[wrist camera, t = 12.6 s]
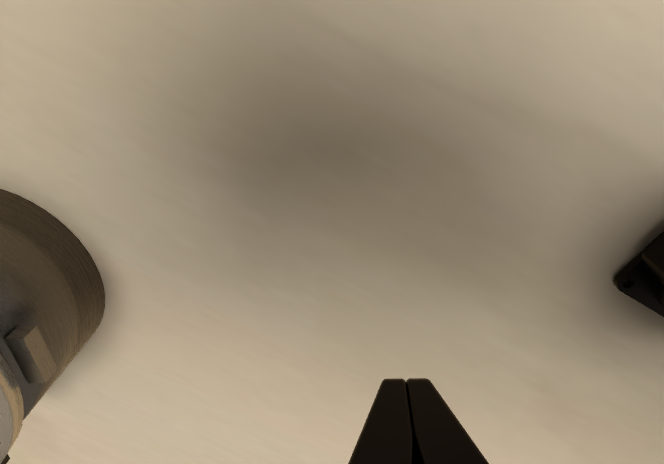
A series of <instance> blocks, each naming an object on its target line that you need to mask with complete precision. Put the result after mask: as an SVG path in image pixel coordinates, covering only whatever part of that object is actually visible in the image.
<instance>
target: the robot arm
mask: <svg viewBox="0 0 664 464" xmlns="http://www.w3.org/2000/svg"><path fill="white" fill-rule="evenodd" d="M629 279H630V280H629ZM626 280H629V281H628V282H627V283H624V282H625V281H626ZM613 282H614V285H615V286H616V287H617V288H618V289H619V290H620V291H621V292H623V293H625V294H626V295H628V296H630V297H631V298H633V299H635V300H636V301H638V302H640V303H641V304H643V305H645V306H646V307H648V308H650V309H652V310H653V311H655V312H657V313H658V314H660V315H662V316H663V317H664V232H663V233H662V234H660V235H659V236H658V237H657V238H656V239H655V240H654V241H653V242H652V243H651V244H650V245H648V246H647V247H646V248H645V249H644V250H643V251H642V252H641V253H640V254H639V255H637V256H636V257H635V258H634V259H633V260H632V261H631V262H630V263H629V264H628V265H627V266H625V267H624V268H623V269H622V270H621V271H620V272H619V273H618V274H617V275H616V276H615V277H614V280H613ZM348 464H489V463H488V462H487V460H486V459H485V458H484V456H483V455H482V453H481V452H480V451H479V449H478V448H477V446H476V445H475V443H474V442H473V441H472V439H471V438H470V436H469V435H468V434H467V432H466V431H465V429H464V428H463V427H462V425H461V424H460V422H459V421H458V419H457V418H456V417H455V415H454V414H453V412H452V411H451V410H450V408H449V407H448V405H447V404H446V402H445V401H444V400H443V398H442V397H441V395H440V394H439V393H438V391H437V390H436V388H435V387H434V386H433V384H432V383H431V382H430V380H428V379H425V378H424V379H408V380H407V381H405V380H404V379H384V380H383V381H382V383H381V385H380V388H379V390H378V393H377V395H376V398H375V400H374V402H373V405H372V407H371V410H370V412H369V415H368V417H367V419H366V422H365V424H364V427H363V429H362V432H361V434H360V436H359V439H358V441H357V444H356V446H355V449H354V451H353V454H352V456H351V458H350V461H349V463H348Z"/></svg>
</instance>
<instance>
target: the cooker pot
mask: <svg viewBox="0 0 664 464" xmlns="http://www.w3.org/2000/svg"><path fill="white" fill-rule="evenodd" d="M104 307H105V295H104V288H103V284H102V281H101V277H100V274H99V272H98V270H97V268H96V265H95V263H94V262H93V260H92V258H91V257H90V255H89V253H88V252H87V250H86V249H85V248H84V247H83V245H82V244H81V243H80V241H79V240H78V239H77V238H76V237H75V236H74V235H73V234H72V233H71V232H70V230H68V229H67V228H66V227H65V226H64V225H63V224H62V223H61V222H59V221H58V220H57V219H56V218H54V217H53V216H52V215H50V214H49V213H48V212H46V211H45V210H43V209H42V208H40V207H38V206H37V205H35V204H33V203H32V202H30V201H28V200H25V199H23V198H21V197H19V196H17V195H15V194H12V193H9V192H7V191H4V190H1V189H0V355H1V356H2V357H3V358H4V360H5V361H6V363H7V364H8V366H9V367H10V369H11V371H12V372H13V374H14V376H15V378H16V380H17V383H18V385H19V387H20V391H21V395H22V399H23V408H24V416H23V420H24V419H25V418H26V416H27V415H28V414H29V413H30V411H31V410H32V409H33V408H34V406H35V405H36V404H37V403H38V401H39V400H40V399H41V398H42V396H43V395H44V394H45V393H46V392H47V390H48V389H49V388H50V387H51V385H52V384H53V383H54V382H55V380H56V379H57V378H58V377H59V375H60V374H61V373H62V372H63V371H64V369H65V368H66V367H67V366H68V364H69V363H70V362H71V361H72V359H73V358H74V357H75V356H76V354H77V353H78V352H79V351H80V349H81V348H82V347H83V346H84V345H85V343H86V342H87V341H88V340H89V338H90V337H91V336H92V335H93V333H94V332H95V331H96V329H97V328H98V326H99V324H100V322H101V319H102V317H103V312H104ZM9 459H10V457H9V456H8V454H7V455H6V456H5V458H4V460H3V461H2V463H1V464H6V463H7V462H8V461H9Z"/></svg>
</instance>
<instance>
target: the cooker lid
mask: <svg viewBox="0 0 664 464" xmlns="http://www.w3.org/2000/svg"><path fill="white" fill-rule="evenodd" d="M23 416H24V408H23V399H22V395H21V391H20V387H19V385H18V383H17V380H16V378H15V376H14V374H13V372H12V371H11V369H10V367H9V366H8V364H7V363H6V361H5V360H4V358H3V357H2V356H1V355H0V464H1V463H2V461H3V460H4V458H5V456H6V455H7V453H8V452H9V450H10V448H11V447H12V445H13V444H14V442H15V440H16V439H17V437H18V435H19V432H20V430H21V427H22V423H23Z"/></svg>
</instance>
